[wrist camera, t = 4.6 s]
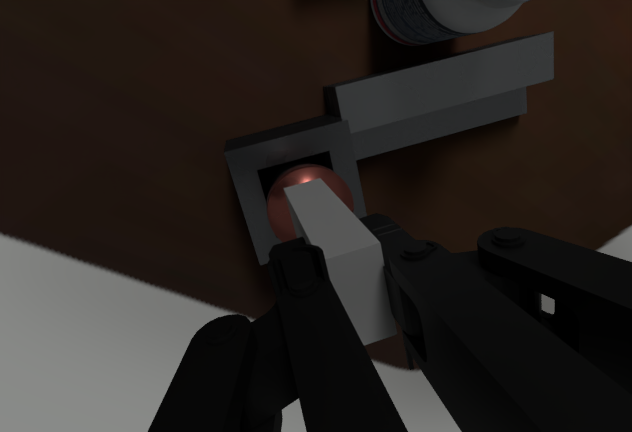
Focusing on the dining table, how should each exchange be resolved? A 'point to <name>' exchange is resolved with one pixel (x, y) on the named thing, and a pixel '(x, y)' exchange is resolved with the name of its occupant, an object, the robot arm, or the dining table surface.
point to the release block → (283, 146)
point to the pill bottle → (439, 18)
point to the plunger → (294, 175)
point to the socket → (441, 94)
